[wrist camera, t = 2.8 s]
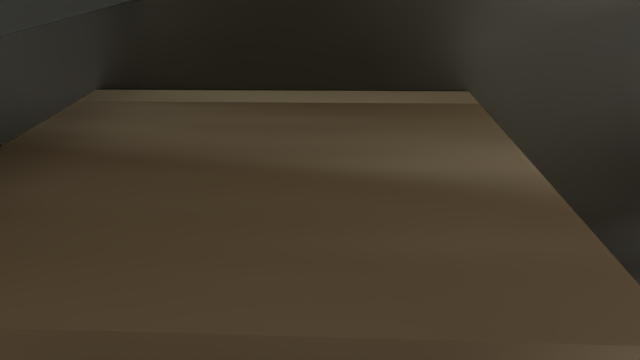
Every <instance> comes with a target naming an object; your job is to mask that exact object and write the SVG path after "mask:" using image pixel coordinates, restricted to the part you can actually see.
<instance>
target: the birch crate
mask: <svg viewBox="0 0 640 360" xmlns="http://www.w3.org/2000/svg"><path fill="white" fill-rule="evenodd" d="M0 360H640V285H639V284H638V283H637V282H636V280H635V279H634V278H633V277H632V276H631V275H630V274H629V273H628V271H627V270H626V269H625V268H624V267H623V266H622V265H621V263H620V262H619V261H618V260H617V259H616V258H615V257H614V256H613V254H612V253H611V252H610V251H609V250H608V249H607V248H606V246H605V245H604V244H603V243H602V242H601V241H600V240H599V239H598V237H597V236H596V235H595V234H594V233H593V232H592V231H591V229H590V228H589V227H588V226H587V225H586V224H585V223H584V222H583V220H582V219H581V218H580V217H579V216H578V215H577V214H576V212H575V211H574V210H573V209H572V208H571V207H570V206H569V205H568V203H567V202H566V201H565V200H564V199H563V198H562V197H561V195H560V194H559V193H558V192H557V191H556V190H555V189H554V188H553V186H552V185H551V184H550V183H549V182H548V181H547V180H546V178H545V177H544V176H543V175H542V174H541V173H540V172H539V170H538V169H537V168H536V167H535V166H534V165H533V164H532V163H531V161H530V160H529V159H528V158H527V157H526V156H525V155H524V153H523V152H522V151H521V150H520V149H519V148H518V147H517V146H516V144H515V143H514V142H513V141H512V140H511V139H510V138H509V136H508V135H507V134H506V133H505V132H504V131H503V130H502V129H501V127H500V126H499V125H498V124H497V123H496V122H495V121H494V119H493V118H492V117H491V116H490V115H489V114H488V113H487V112H486V110H485V109H484V108H483V107H482V106H481V105H480V104H479V102H478V101H477V100H476V99H475V98H474V97H473V96H472V95H471V93H470V92H469V91H265V90H94V91H93V92H91V93H89V94H88V95H86V96H84V97H83V98H81V99H79V100H78V101H76V102H74V103H73V104H71V105H69V106H68V107H66V108H64V109H63V110H61V111H59V112H58V113H56V114H54V115H53V116H51V117H49V118H48V119H46V120H44V121H43V122H41V123H39V124H38V125H36V126H34V127H33V128H31V129H29V130H28V131H26V132H24V133H23V134H21V135H19V136H18V137H16V138H14V139H13V140H11V141H9V142H8V143H6V144H4V145H3V146H1V147H0Z"/></svg>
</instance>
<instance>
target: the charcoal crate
mask: <svg viewBox="0 0 640 360" xmlns="http://www.w3.org/2000/svg"><path fill="white" fill-rule="evenodd" d="M128 1H132V0H0V36H4V35H7V34H11V33H15V32H18V31H22V30H26V29H29V28H33V27H37V26H40V25H44V24H48V23H51V22H55V21H59V20H62V19H66V18H70V17H73V16H77V15H81V14H84V13H88V12H92V11H95V10H99V9H103V8H106V7H110V6H114V5H117V4H121V3H125V2H128Z"/></svg>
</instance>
